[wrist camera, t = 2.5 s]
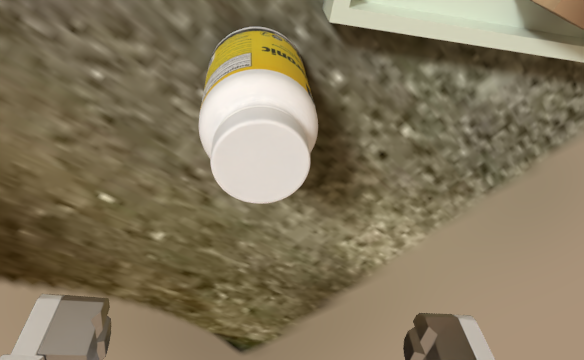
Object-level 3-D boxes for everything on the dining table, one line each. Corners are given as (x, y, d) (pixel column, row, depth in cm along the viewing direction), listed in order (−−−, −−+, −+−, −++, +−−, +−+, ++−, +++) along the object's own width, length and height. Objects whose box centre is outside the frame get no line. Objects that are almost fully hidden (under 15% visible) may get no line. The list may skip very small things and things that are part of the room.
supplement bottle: (320, 83, 26) (351, 181, 19) (244, 128, 28) (243, 237, 20) (271, 3, 24) (282, 78, 16) (188, 57, 25) (160, 151, 17)
